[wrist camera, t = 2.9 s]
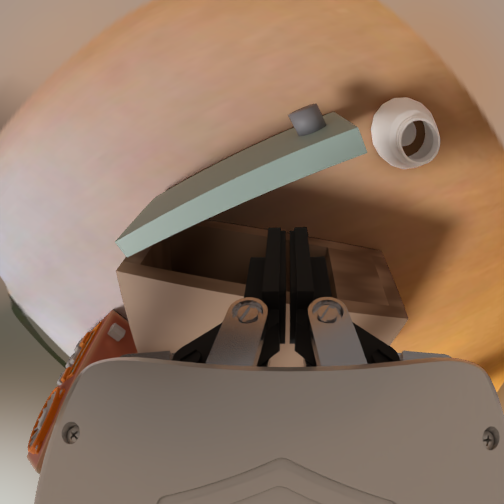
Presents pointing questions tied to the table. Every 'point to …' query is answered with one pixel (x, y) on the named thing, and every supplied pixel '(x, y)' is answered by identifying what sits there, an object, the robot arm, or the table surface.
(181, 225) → the door
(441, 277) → the table surface
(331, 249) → the case
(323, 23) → the table surface
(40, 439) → the control panel
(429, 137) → the lidless jar
